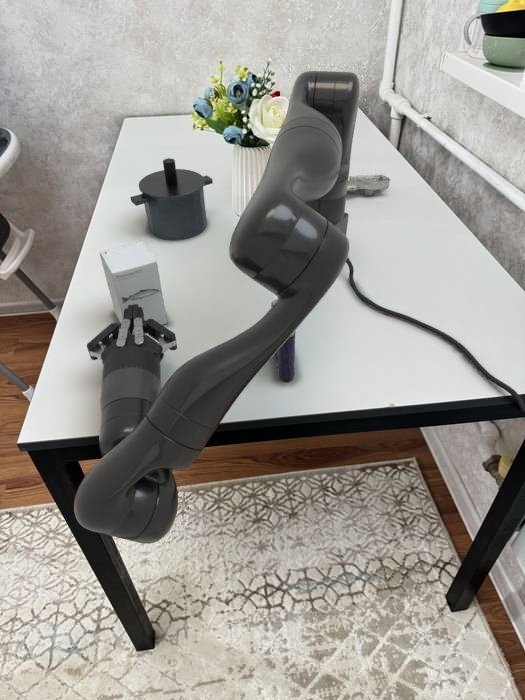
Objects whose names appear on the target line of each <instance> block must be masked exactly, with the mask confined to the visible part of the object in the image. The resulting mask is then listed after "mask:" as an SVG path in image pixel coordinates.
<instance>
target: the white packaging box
mask: <svg viewBox="0 0 525 700" xmlns="http://www.w3.org/2000/svg"><path fill="white" fill-rule="evenodd" d="M98 253H99V257H100V260H101V266H102V269H103V273H104V276H105V280H106V283H107V287H108V291H109V295H110V299H111V302H112V306H113V310H114V313H115V316H116V317H117V319H118V321H119V324H120V323H122V321H123V317H124V310H125V309H126V308H128V305H134V304H138V307H142V309H143V313H144V320H145V321H146V320H148V319H154V320H155V321H157V322H158V323H160V324H161V325H163V326H164V325H167V324H168V318H167V312H166V307H165V301H164V295H163V290H162V284H161V278H160V272H159V266H158V261H157V260H156V258H155V256H154V255H153V254H152V252H151V251H150V249H149V247H148V246H147V244H146V242H145V241H138V242H133V243H130V244H126V245H122V246H121V245H120V246H118V247H114V248H111V249H110V248H109V249H107V250H103V251H99V252H98ZM133 334H134V330H133Z"/></svg>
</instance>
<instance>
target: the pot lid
mask: <svg viewBox="0 0 525 700" xmlns="http://www.w3.org/2000/svg"><path fill="white" fill-rule="evenodd" d="M162 167H163V170H158V171H154V172H152V173H149V174H147V175H145V176H144V177H142V178H141V179H140V180H139V182H138V189H139V191H140V192H141V194H142V193H143V194H144V195H146V196H149V197H152V198H157V199H176V198H182V197H186V196H190V195H192V194H195V193H197V192H198V191H200V190H201V189H202V188H203V189H204V187H205V186H204V184H205V180H204V178H203V175H202V174H201V173H199V172H197V171H194V170H190V169H183V168H177V167H176V160H175V159H174V158H165V159H163V160H162Z"/></svg>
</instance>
